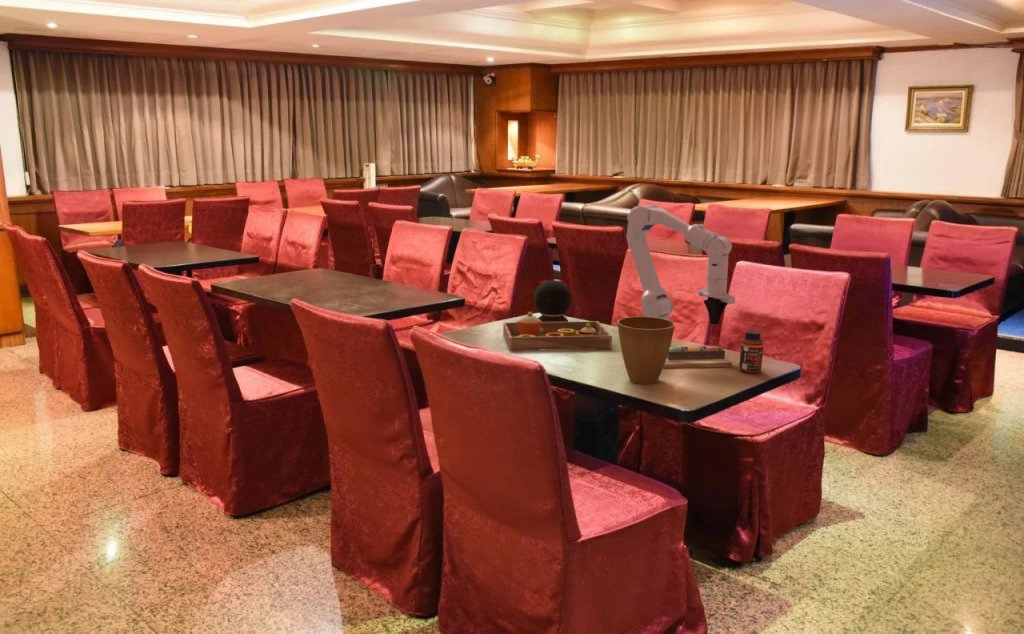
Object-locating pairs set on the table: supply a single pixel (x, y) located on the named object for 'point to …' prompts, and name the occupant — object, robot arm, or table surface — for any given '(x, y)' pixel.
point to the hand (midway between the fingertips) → (714, 323)
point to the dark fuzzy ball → (552, 301)
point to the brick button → (712, 348)
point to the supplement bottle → (751, 352)
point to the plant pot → (645, 346)
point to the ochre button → (693, 348)
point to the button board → (696, 358)
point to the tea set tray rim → (557, 337)
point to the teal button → (675, 349)
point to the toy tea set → (532, 328)
